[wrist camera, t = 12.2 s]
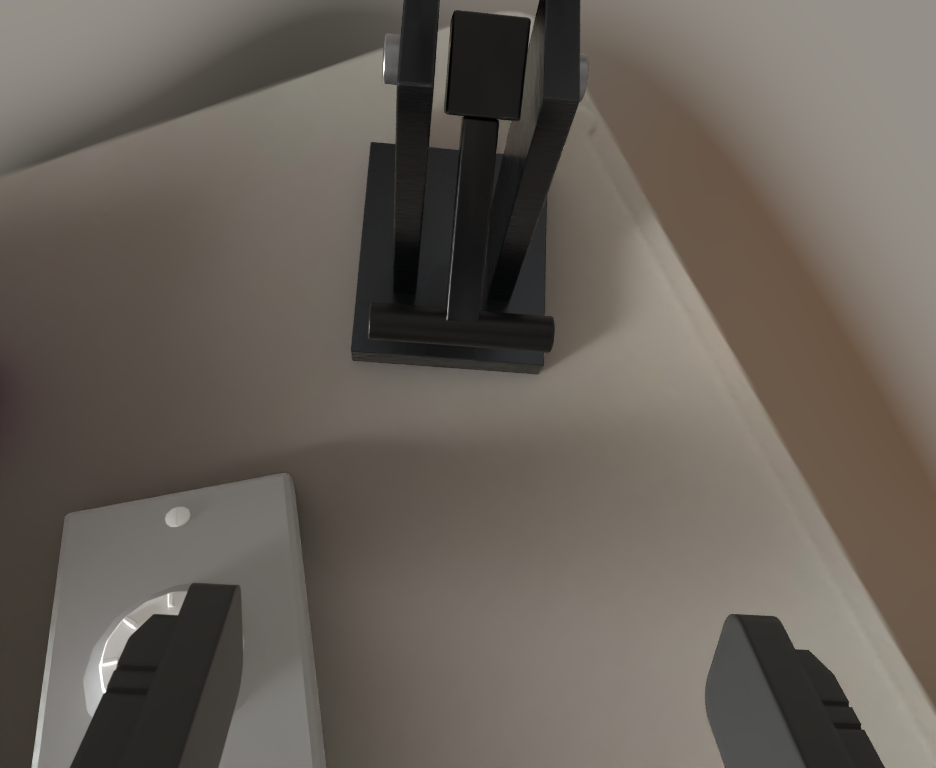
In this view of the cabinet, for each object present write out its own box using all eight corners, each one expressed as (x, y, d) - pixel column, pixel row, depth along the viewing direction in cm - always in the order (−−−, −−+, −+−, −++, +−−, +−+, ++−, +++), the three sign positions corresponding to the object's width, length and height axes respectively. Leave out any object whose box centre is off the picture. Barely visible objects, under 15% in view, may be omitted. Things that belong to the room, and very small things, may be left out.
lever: (544, 342, 29) (554, 362, 27) (370, 329, 29) (365, 348, 26) (582, 31, 26) (597, 24, 24) (389, 11, 26) (385, 2, 23)
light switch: (286, 453, 32) (329, 856, 22) (309, 543, 37) (355, 918, 26) (54, 496, 31) (-13, 945, 21) (104, 585, 35) (70, 996, 25)
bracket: (539, 374, 36) (636, 196, 22) (352, 360, 36) (330, 168, 22) (542, 172, 39) (630, -97, 25) (371, 156, 39) (363, -128, 25)
